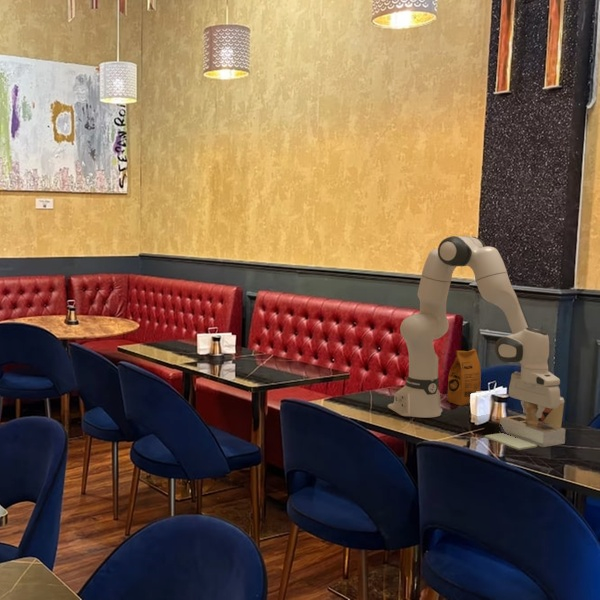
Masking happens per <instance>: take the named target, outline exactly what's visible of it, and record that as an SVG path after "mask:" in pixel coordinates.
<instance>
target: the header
mask: <svg viewBox="0 0 600 600" xmlns="http://www.w3.org/2000/svg"><path fill="white" fill-rule="evenodd" d="M500 424H501V425H502V427H503V429H504V431H505V432H506V433H507V434H509V435H511V436H513V437H516V438H518V439H521V440H524V441H527V442H529V443H532V444H535V445H537V447H540V448H547V447H553V446H559V445H564V444H565V442H566V428H564V427H562V426H561V427H558V426H555V425H551V424H548V423H545V422H542V421H539V420H538V425H533V426H531V425H528V424H526V415H523V414H519V415H513V416H512V415H511V416H505V417H500V418H499V425H500Z"/></svg>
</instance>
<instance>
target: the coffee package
mask: <svg viewBox="0 0 600 600" xmlns="http://www.w3.org/2000/svg"><path fill="white" fill-rule="evenodd" d="M454 354H455V355H456V357H455V359H454V362H453V364H452V365H451V367H450V369H449V372H448V376H447V377H448V378H447V380H448V382H447V383H448V384H447V398H446V399H447V401H448V403H451V404H453V405H457V406H461V407H463V406H465V405H470V404H469V399H470V394H471V393H472V392H476V391H480V392H481V387H482V386H481V382H482V380H481V377H482V373H481V372H482V371H481V369H482V367H481V362H480V359H479V356H478V352H477V350H476V349H475V348H472V349H471V350H468V351H466V350H455V352H454Z"/></svg>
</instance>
